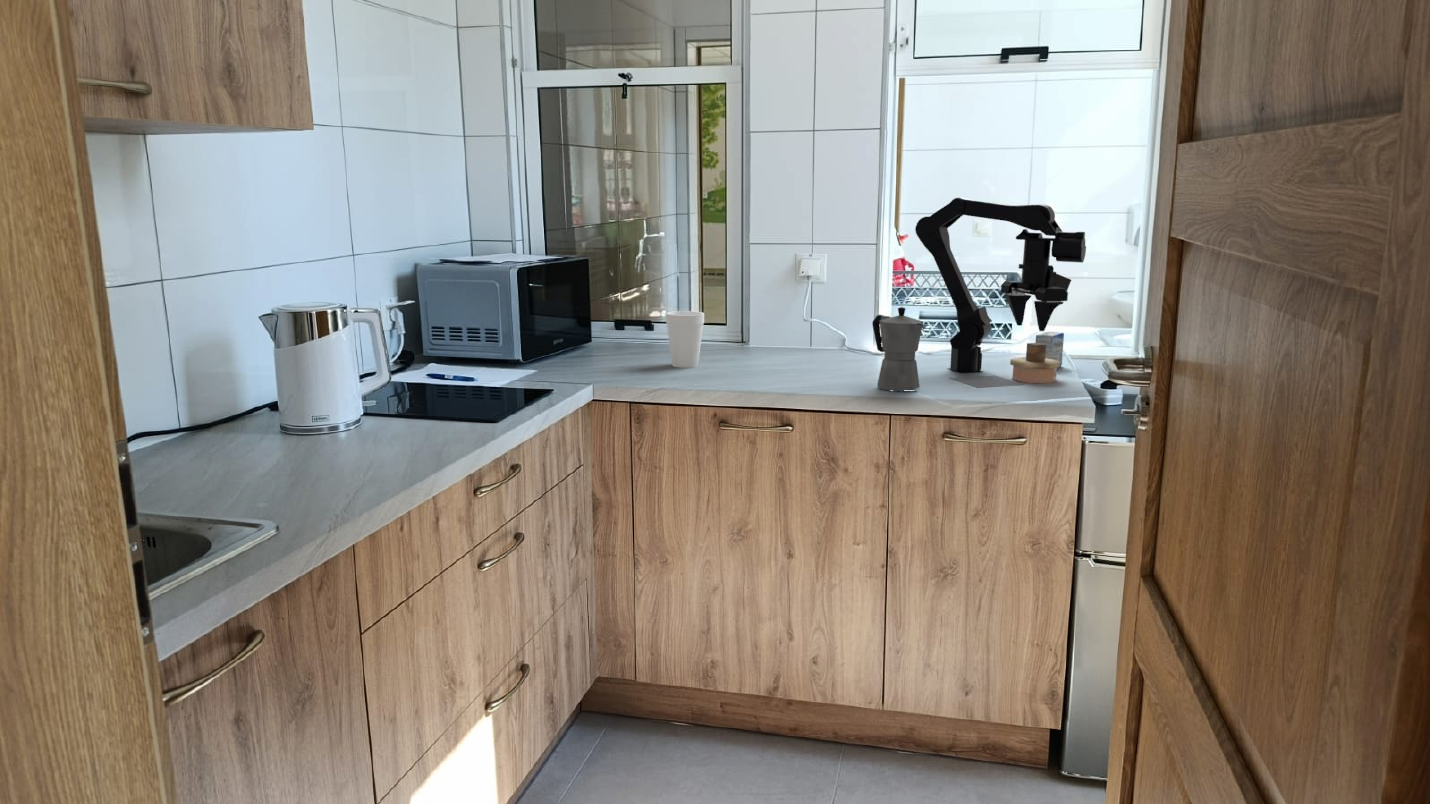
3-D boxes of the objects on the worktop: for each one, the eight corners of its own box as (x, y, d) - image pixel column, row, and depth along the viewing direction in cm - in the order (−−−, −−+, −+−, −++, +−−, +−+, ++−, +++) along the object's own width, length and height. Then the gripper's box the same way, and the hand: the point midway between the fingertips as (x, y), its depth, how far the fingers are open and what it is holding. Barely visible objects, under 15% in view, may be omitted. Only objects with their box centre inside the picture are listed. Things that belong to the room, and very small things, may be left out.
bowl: (1028, 386, 228) (1030, 369, 227) (1005, 379, 236) (1006, 362, 236) (1063, 384, 231) (1064, 367, 230) (1039, 377, 239) (1040, 360, 238)
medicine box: (1051, 371, 247) (1053, 336, 246) (1033, 369, 250) (1035, 334, 248) (1062, 367, 254) (1064, 332, 252) (1044, 365, 256) (1046, 330, 254)
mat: (977, 390, 223) (977, 387, 223) (949, 380, 235) (949, 377, 235) (1024, 387, 227) (1024, 384, 227) (994, 377, 238) (994, 375, 238)
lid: (1028, 369, 226) (1030, 348, 225) (1000, 361, 236) (1001, 341, 235) (1070, 367, 229) (1072, 346, 228) (1041, 359, 239) (1042, 339, 238)
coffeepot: (935, 391, 222) (939, 309, 219) (903, 395, 217) (907, 311, 214) (886, 379, 235) (889, 302, 231) (855, 384, 230) (858, 304, 226)
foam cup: (706, 362, 256) (706, 311, 254) (702, 369, 247) (702, 315, 245) (668, 361, 257) (668, 310, 255) (663, 368, 248) (663, 315, 246)
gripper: (1091, 263, 225) (1085, 333, 229) (1043, 257, 243) (1038, 322, 246) (1047, 263, 223) (1041, 334, 226) (1002, 257, 240) (997, 323, 243)
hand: (1030, 328), depth 235 cm, fingers open, 9 cm apart
